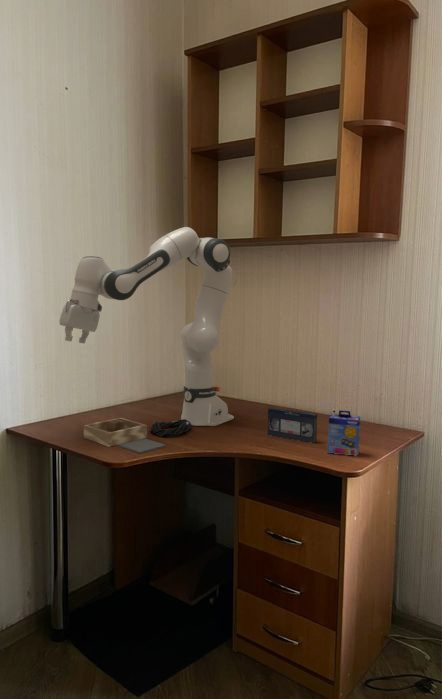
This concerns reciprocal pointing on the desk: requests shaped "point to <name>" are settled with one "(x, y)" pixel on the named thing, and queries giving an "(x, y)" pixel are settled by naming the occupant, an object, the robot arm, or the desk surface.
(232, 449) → the desk surface
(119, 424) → the block
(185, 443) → the desk surface
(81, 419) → the desk surface
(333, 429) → the ink cartridge box
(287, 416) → the vhs cassette tape
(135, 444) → the pad
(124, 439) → the crate
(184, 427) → the cable
